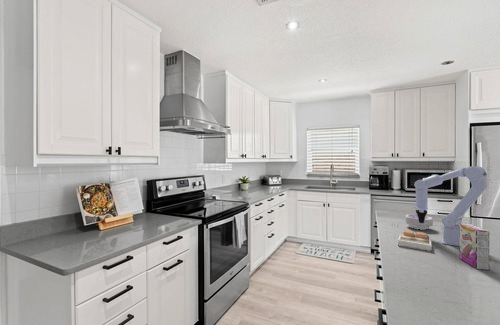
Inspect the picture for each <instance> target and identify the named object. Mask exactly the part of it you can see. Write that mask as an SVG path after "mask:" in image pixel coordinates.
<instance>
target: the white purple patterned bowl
mask: <svg viewBox="0 0 500 325" xmlns="http://www.w3.org/2000/svg"><path fill="white" fill-rule="evenodd" d="M404 220H405V224H407V225H408V226H409V227H410V228H411V229H413V228H414V229H413V230H418V229H420V230H421V231H427V230H429V228H430V227H433V226H434V225H433V224H434V222H433V221H434V220H433V217H431V216H428V215H426V216H425V220H424V223H419V219H418V215H417V214H412V213H411V214H410V213H409V214H406V215H405V219H404ZM426 229H427V230H426Z"/></svg>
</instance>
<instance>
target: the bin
mask: <svg viewBox="0 0 500 325" xmlns="http://www.w3.org/2000/svg"><path fill="white" fill-rule="evenodd" d="M401 235H402V234H399V236H398V239H397V246H398V247H404V248H409V249H414V250H421V251H425V250H427V252H432V247H433V246H432V239H430V238H429V243H427V242H421V241H414V240H408V239H402V238H401Z"/></svg>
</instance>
